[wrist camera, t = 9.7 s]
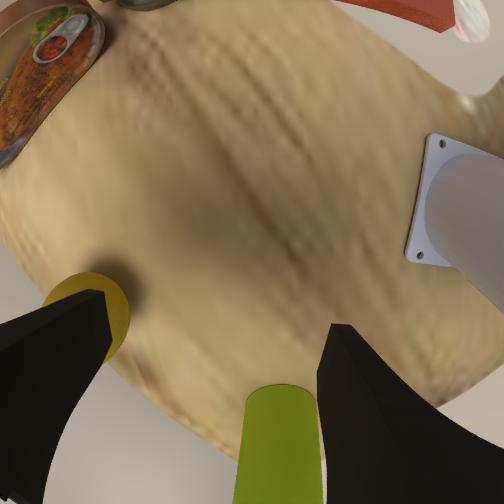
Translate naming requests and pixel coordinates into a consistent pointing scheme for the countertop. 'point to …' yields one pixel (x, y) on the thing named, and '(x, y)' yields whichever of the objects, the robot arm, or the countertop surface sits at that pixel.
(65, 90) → the tin
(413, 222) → the robot arm
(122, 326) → the lemon
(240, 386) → the countertop surface
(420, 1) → the ratchet
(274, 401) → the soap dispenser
